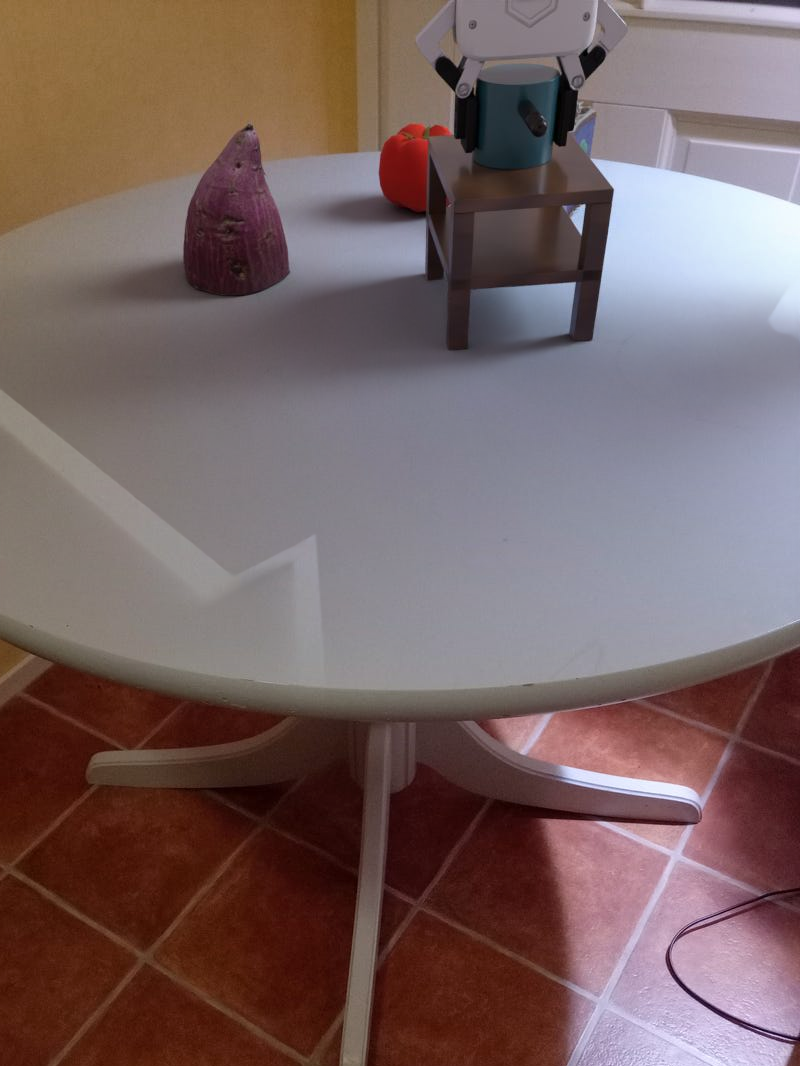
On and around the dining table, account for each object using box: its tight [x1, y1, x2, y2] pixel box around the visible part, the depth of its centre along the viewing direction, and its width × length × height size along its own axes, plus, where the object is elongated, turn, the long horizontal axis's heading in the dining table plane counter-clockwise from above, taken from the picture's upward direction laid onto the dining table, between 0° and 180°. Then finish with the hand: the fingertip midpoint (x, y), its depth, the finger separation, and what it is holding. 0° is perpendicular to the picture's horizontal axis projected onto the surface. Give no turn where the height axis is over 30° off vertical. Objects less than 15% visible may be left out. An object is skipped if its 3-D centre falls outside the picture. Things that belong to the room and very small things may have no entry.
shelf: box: [424, 132, 615, 351], centre depth 83 cm, size 12×16×12 cm
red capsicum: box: [378, 123, 453, 213], centre depth 103 cm, size 9×9×8 cm
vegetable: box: [182, 121, 291, 296], centre depth 91 cm, size 10×10×15 cm
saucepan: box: [472, 63, 561, 170], centre depth 75 cm, size 6×12×6 cm, turn 2°
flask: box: [563, 100, 597, 218], centre depth 98 cm, size 9×3×11 cm, turn 152°
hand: (512, 142), depth 79 cm, fingers open, 6 cm apart
